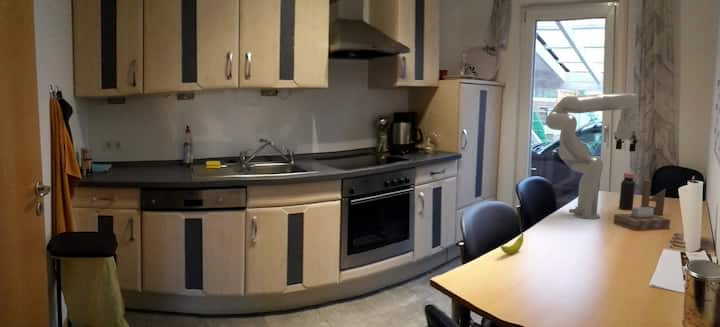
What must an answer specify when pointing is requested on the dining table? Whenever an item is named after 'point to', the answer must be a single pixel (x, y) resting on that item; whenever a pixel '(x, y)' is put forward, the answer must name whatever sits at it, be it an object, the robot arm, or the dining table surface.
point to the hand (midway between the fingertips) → (625, 150)
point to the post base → (641, 222)
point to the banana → (513, 246)
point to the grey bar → (642, 212)
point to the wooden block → (653, 198)
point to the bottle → (627, 192)
